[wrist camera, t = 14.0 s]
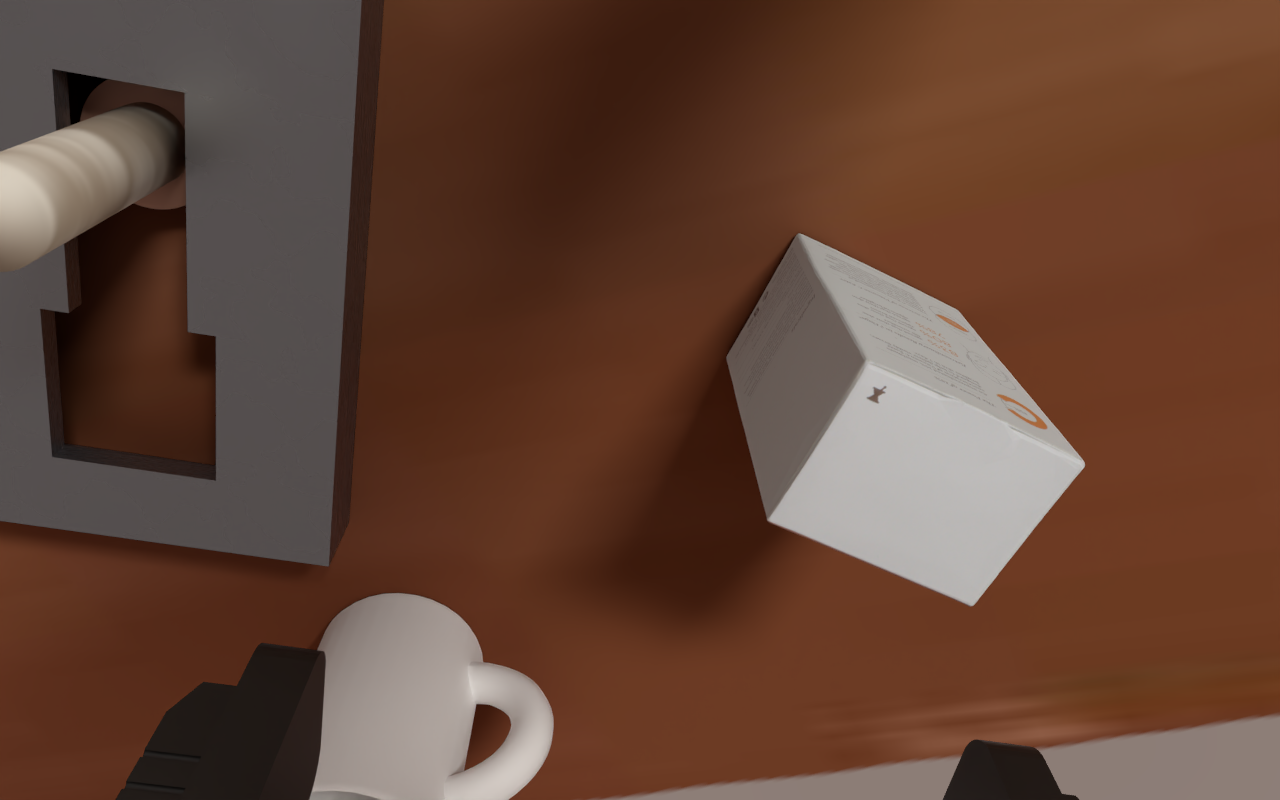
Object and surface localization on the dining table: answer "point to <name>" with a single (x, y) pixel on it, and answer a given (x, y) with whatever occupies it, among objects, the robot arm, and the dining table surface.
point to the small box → (890, 425)
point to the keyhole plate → (211, 267)
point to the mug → (419, 707)
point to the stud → (92, 170)
